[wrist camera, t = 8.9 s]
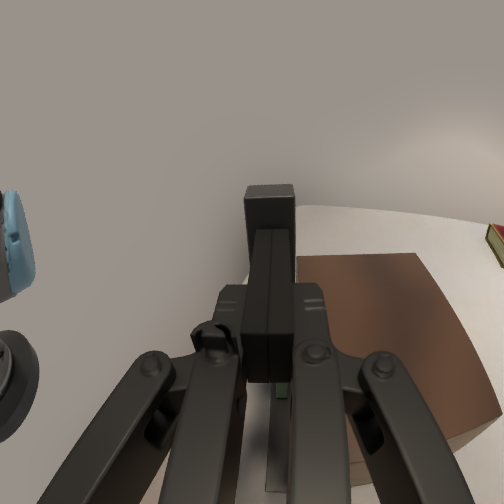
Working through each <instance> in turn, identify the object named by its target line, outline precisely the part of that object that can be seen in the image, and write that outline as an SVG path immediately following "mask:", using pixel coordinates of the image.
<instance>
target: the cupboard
mask: <svg viewBox="0 0 504 504" xmlns="http://www.w3.org/2000/svg"><path fill="white" fill-rule="evenodd" d="M313 282H316V283H317V284H318V286H319V287H320V288H321V289H322V290H323V295H324V302H325V306H326V312H327V317H328V323H329V329H330V336H331V340H332V343H333V344H334V346H335V347H336V348H337V349H338V350H339V351H341V352H342V353H344V354H347V355H350V356H354V357H359V358H366V357H367V356H368V355H369V354H371V353H373V352H375V351H388V352H391V353H393V354H395V355H397V357H398V358H399V359H400V360H401V361H402V363H403V364H404V366H405V367H406V369H407V371H408V372H409V374H410V376H411V377H412V379H413V381H414V382H415V384H416V386H417V388H418V389H419V391H420V393H421V394H422V396H423V398H424V400H425V401H426V403H427V405H428V407H429V409H430V410H431V412H432V414H433V416H434V418H435V420H436V421H437V423H438V425H439V427H440V429H441V431H442V433H443V435H444V437H445V439H446V441H447V443H448V445H449V447H450V449H451V451H452V453H455V452H456V451H457V450H459V449H460V448H462V447H463V446H465V445H466V444H467V443H469V442H470V441H471V440H473V439H474V438H475V437H477V436H478V435H479V434H480V433H482V432H483V431H484V430H485V429H486V428H488V427H489V426H490V425H491V424H492V423H494V422H495V421H496V420H497V419H498V418H499V417H500V416H501V415H502V414H503V413H502V410H501V407H500V405H499V402H498V399H497V397H496V394H495V392H494V389H493V387H492V385H491V382H490V380H489V378H488V375H487V373H486V371H485V369H484V367H483V364H482V362H481V360H480V358H479V356H478V354H477V352H476V350H475V348H474V346H473V344H472V342H471V340H470V339H469V337H468V335H467V333H466V331H465V329H464V328H463V326H462V324H461V322H460V320H459V319H458V317H457V315H456V314H455V312H454V310H453V309H452V307H451V305H450V304H449V302H448V300H447V299H446V297H445V296H444V294H443V292H442V291H441V289H440V288H439V286H438V285H437V283H436V282H435V280H434V279H433V277H432V276H431V274H430V273H429V271H428V270H427V269H426V267H425V266H424V264H423V263H422V261H421V260H420V259H419V257H418V256H417V255H416V253H394V254H360V255H323V256H297V257H296V283H313ZM290 392H291V383H288V397H287V398H277V397H276V383H272V386H271V407H270V425H269V442H268V457H267V472H266V485H265V492H287V484H288V463H289V433H290ZM345 416H346V426H347V437H348V450H349V464H350V484H351V487H353V486H359V485H365V484H370V483H373V482H372V479H371V476H370V474H369V471H368V468H367V466H366V463H365V460H364V458H363V455H362V453H361V450H360V448H359V445H358V442H357V440H356V437H355V435H354V432H353V430H352V427H351V425H350V422H349V420H348V417H347V415H346V414H345Z"/></svg>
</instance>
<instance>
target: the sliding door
mask: <svg viewBox="0 0 504 504" xmlns="http://www.w3.org/2000/svg"><path fill="white" fill-rule="evenodd" d="M244 210H245V220H246V230H247V241H248V251H249V261H250V266H251V259H252V253H253V247H254V240H255V234H256V229H288V232H289V246H290V261H291V277H292V283H295V254H296V222H295V194H294V189H293V185H292V184H281V185H280V184H279V185H254V186H248V187H247V190H246V193H245V196H244ZM276 397H277V398H287V397H288V383H276Z"/></svg>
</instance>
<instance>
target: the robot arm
mask: <svg viewBox="0 0 504 504" xmlns="http://www.w3.org/2000/svg"><path fill="white" fill-rule="evenodd" d="M34 278H35V261H34V255H33V249H32V245H31V240H30V235H29V230H28V226H27V222H26V218H25V214H24V210H23V206H22V203H21V200H20V197H19V195H18V194H17V192H16V191H14V190H12V191H6V192H5V193H4V194H3V195H2V193H1V191H0V303H2V302H4V301H6V300H8V299H10V298H12V297H15V296H16V295H17V294H18V293H19V292H21V291H22V290H24V289H26V288H27V287H29V286H30V285H31V284H32V282H33V280H34ZM190 336H191V339H192V342H193V345H194V348H195V350H196V352H195V353H193V354H190V355H187V356H183V357H177V358H171V359H170V358H169V357H168V355H167V354H165V353H163V352H161V351H149V352H146V353H144V354H142V355H140V356H139V357H138V358H137V359H136V360H135V362H134V363H133V364H132V365H131V367H130V368H129V370H128V371H127V372H126V374H125V375H124V377H123V378H122V379H121V380H120V382H119V383H118V385H117V386H116V387H115V389H114V390H113V392H112V393H111V394H110V396H109V397H108V399H107V400H106V401H105V403H104V404H103V405H102V407H101V408H100V410H99V411H98V412H97V414H96V415H95V417H94V418H93V420H92V421H91V422H90V424H89V425H88V427H87V428H86V430H85V431H84V432H83V434H82V435H81V437H80V438H79V440H78V441H77V443H76V444H75V446H74V447H73V449H72V450H71V451H70V453H69V454H68V456H67V458H66V459H65V460H64V462H63V464H62V465H61V467H60V468H59V469H58V471H57V472H56V474H55V476H54V477H53V479H52V480H51V482H50V483H49V485H48V486H47V488H46V489H45V491H44V493H43V494H42V496H41V497H40V499H39V501H38V502H37V504H139V503H140V501H141V500H142V498H143V496H144V495H145V493H146V491H147V489H148V488H149V486H150V484H151V482H152V481H153V479H154V477H155V475H156V474H157V472H158V470H159V468H160V466H161V465H162V463H163V461H164V459H165V458H166V456H167V454H168V452H169V450H170V449H171V451H170V455H169V459H168V463H167V467H166V472H165V476H164V480H163V484H162V489H161V493H160V497H159V502H158V504H235V496H236V488H237V480H238V471H239V463H240V454H241V446H242V437H243V428H244V420H245V411H246V402H247V392H246V383H247V379H248V383H269V380H270V383H291V392H290V433H289V463H288V484H287V501H286V504H351V484H350V464H349V450H348V437H347V426H346V416H345V414H346V415H347V417H348V420H349V422H350V425H351V427H352V430H353V432H354V435H355V437H356V440H357V442H358V445H359V448H360V450H361V453H362V455H363V458H364V460H365V463H366V466H367V468H368V471H369V474H370V476H371V479H372V482H373V484H374V487H375V490H376V492H377V495H378V498H379V501H380V503H381V504H475V502H474V500H473V497H472V495H471V492H470V490H469V488H468V485H467V483H466V481H465V478H464V476H463V474H462V472H461V470H460V467H459V465H458V463H457V461H456V459H455V457H454V455H453V453H452V451H451V449H450V447H449V445H448V443H447V441H446V439H445V437H444V435H443V433H442V431H441V429H440V427H439V425H438V423H437V421H436V420H435V418H434V416H433V414H432V412H431V410H430V409H429V407H428V405H427V403H426V401H425V400H424V398H423V396H422V394H421V393H420V391H419V389H418V388H417V386H416V384H415V382H414V381H413V379H412V377H411V376H410V374H409V372H408V371H407V369H406V367H405V366H404V364H403V363H402V361H401V360H400V359H399V358H398V357H397V355H395V354H393V353H391V352H388V351H375V352H373V353H371V354H369V355H368V356H367V357H366V358H359V357H354V356H350V355H347V354H344V353H342V352H341V351H339V350H338V349H337V348H336V347H335V346H334V344H333V343H332V340H331V336H330V329H329V323H328V317H327V312H326V306H325V302H324V295H323V290H322V289H321V288H320V287H319V286H318V284H317V283H316V282H313V283H292V277H291V261H290V246H289V232H288V229H256V234H255V240H254V247H253V253H252V259H251V266H250V272H249V278H248V284H247V285H226V286H225V287H224V288H223V289H222V290H221V291H220V293H219V296H218V300H217V304H216V307H215V312H214V314H213V318H212V320H211V321H206V322H204V323H201V324H199V325H198V326H197V327H196V328H194V329H193V331H192V333H191V334H190ZM13 373H14V357H13V354H12V352H11V350H10V349H9V348H8V346H7V345H6V344H5V343H4V342H3V341H2V340H1V339H0V402H1V400H2V399H3V397H4V396H5V394H6V392H7V390H8V388H9V386H10V383H11V381H12V377H13Z"/></svg>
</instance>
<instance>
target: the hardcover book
mask: <svg viewBox="0 0 504 504" xmlns="http://www.w3.org/2000/svg"><path fill="white" fill-rule="evenodd" d="M486 241H487V242H488V244H489V246H490V247H491V249H492V251H493V253H494V254H495V256H496V258H497V260H498V262H499V263H500V265H501V267H502V268H504V226H500V225H496V224H492V223H490V224H489V226H488V230H487V233H486Z"/></svg>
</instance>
